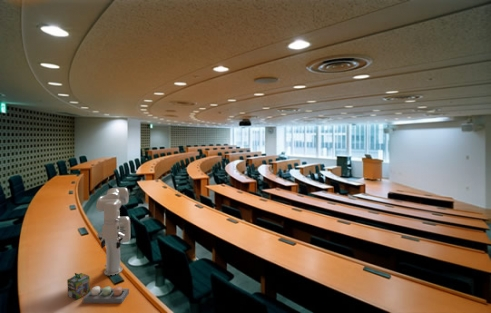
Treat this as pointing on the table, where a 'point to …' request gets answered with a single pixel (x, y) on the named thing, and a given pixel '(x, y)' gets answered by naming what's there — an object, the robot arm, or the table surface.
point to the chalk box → (78, 286)
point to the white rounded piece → (95, 291)
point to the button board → (104, 299)
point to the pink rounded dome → (117, 291)
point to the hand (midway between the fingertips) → (110, 247)
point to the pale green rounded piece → (107, 291)
